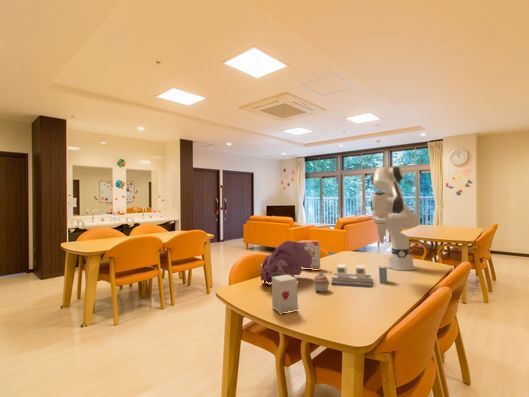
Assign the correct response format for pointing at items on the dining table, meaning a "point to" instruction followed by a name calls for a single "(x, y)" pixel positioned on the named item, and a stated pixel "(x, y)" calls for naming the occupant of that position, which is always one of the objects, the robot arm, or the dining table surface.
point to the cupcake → (321, 283)
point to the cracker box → (312, 252)
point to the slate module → (383, 274)
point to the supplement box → (284, 293)
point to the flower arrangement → (285, 261)
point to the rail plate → (351, 277)
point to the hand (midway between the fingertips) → (381, 242)
